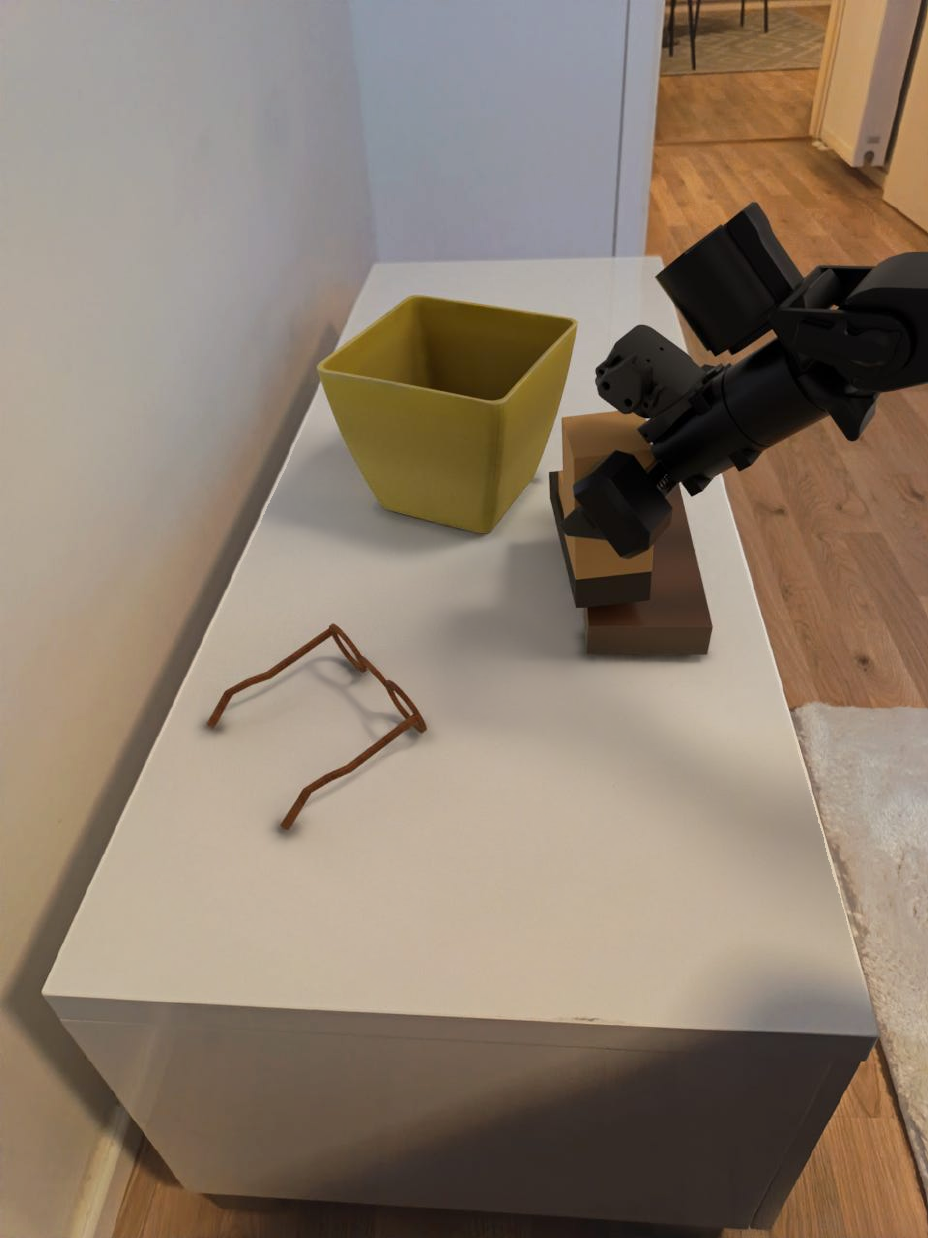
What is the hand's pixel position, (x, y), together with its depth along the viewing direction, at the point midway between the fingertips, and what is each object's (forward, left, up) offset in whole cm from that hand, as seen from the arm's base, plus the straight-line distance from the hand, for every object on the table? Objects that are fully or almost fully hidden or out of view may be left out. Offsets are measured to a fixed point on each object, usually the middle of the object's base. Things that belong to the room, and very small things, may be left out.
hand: (592, 500), depth 68 cm
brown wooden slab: (+3, -8, -13) cm, 16 cm away
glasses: (+1, +25, -13) cm, 28 cm away
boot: (+3, -3, -8) cm, 9 cm away
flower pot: (+25, -1, -13) cm, 28 cm away
